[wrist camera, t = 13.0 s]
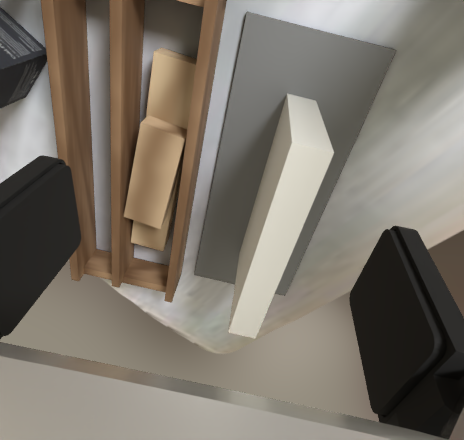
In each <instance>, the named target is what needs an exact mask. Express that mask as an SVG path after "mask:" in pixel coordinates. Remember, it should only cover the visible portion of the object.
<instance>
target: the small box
mask: <svg viewBox="0 0 464 440" xmlns="http://www.w3.org/2000/svg"><path fill="white" fill-rule="evenodd" d="M46 61H47V52H46V48H45V47H43V46H42V45H41V44H40V43H39V42H38V41H37V40H36V39H35V38H34V37H33V36H31V35H30V34H29V33H28V32H27V31H26V30H25V29H24V28H23V27H22V26H20V25H19V24H18V23H17V22H16V21H15V20H14V19H13V18H12V17H10V16H9V15H8V14H7V13H6V12H5V11H4V10H3V9H2V8H1V7H0V108H3V107H5V106H7V105H9V104H11V103H14V102H16V101H18V100H20V99H22V98H25V97H26V95H27V94H28V92H29V91H30V89H31V87H32V85H33V84H34V82H35V80H36V79H37V77H38V75H39V74H40V72H41V70H42V68H43V67H44V65H45V63H46Z"/></svg>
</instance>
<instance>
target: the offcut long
mask: <svg viewBox="0 0 464 440" xmlns="http://www.w3.org/2000/svg"><path fill="white" fill-rule="evenodd" d="M196 62H197V59H195V58H192V57H189V56H186V55H183V54H180V53H176V52H173V51H170V50H167V49H164V48H160V49H158V50H156V51H154V55H153V63H152V71H151V79H150V88H149V96H148V104H147V112H146V117H147V116H148V115H150V116H152V117H155V118H158V119H160V120H163V121H166V122H168V123H171V124H174V125H176V126H179V127H182V128H184V129H188V122H189V114H190V107H191V99H192V92H193V85H194V77H195V70H196ZM184 152H185V151H184ZM183 159H184V155H183V158H182V162H181V165H180V169H179V173H178V176H177V180H176V183H175V187H174V191H173V194H172V198H171V201H170V205H169V209H168V212H167V216H166V219H165V221H164V223H163V225H162V227H161V229H158V228H155V227H153V226H150V225H147V224H144V223H141V222H138V221H135V220H133V228H132V236H131V243H135V244H138V245H142V246H145V247H149V248H153V249H156V250H160V251H164V249H165V247H166V244H167V242H168V239H169V234H170V229H171V224H172V220H173V215H174V210H175V205H176V201H177V196H178V191H179V186H180V181H181V174H182V167H183Z"/></svg>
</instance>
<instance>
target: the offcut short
mask: <svg viewBox="0 0 464 440" xmlns="http://www.w3.org/2000/svg"><path fill="white" fill-rule="evenodd" d="M186 137H187V129H184V128H182V127H179V126H176V125H174V124H171V123H168V122H166V121H163V120H160V119H158V118H155V117H152V116H150V115H148V116H147V117H146V118H145V119H144V120H143V121H142V122H141V124H140V129H139V135H138V140H137V146H136V151H135V157H134V163H133V168H132V174H131V179H130V185H129V190H128V196H127V201H126V207H125V212H124V217H126V218H129V219H132V220H135V221H138V222H141V223H144V224H147V225H150V226H153V227H155V228H158V229H161V227H162V225H163V223H164V221H165V219H166V216H167V212H168V209H169V205H170V201H171V198H172V194H173V191H174V187H175V183H176V180H177V176H178V173H179V169H180V165H181V162H182V158H183V155H184V151H185V144H186Z"/></svg>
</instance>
